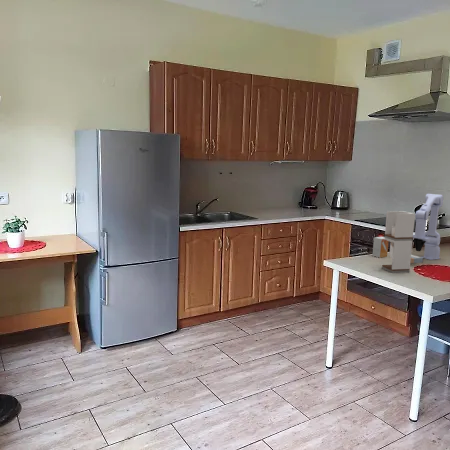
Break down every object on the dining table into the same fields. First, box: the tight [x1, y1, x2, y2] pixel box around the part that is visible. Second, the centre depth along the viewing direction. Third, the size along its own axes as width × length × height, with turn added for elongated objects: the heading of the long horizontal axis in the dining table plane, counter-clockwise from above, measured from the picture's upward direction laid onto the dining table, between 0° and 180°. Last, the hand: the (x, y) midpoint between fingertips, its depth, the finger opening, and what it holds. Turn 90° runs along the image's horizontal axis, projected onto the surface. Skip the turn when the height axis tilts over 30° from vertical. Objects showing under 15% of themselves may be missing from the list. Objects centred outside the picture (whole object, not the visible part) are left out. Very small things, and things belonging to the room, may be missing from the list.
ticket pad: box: [411, 254, 424, 264], centre depth 286 cm, size 7×13×3 cm, turn 22°
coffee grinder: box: [381, 210, 416, 274], centre depth 258 cm, size 11×11×35 cm
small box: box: [371, 236, 390, 259], centre depth 295 cm, size 8×6×13 cm
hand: (418, 250), depth 271 cm, fingers closed
